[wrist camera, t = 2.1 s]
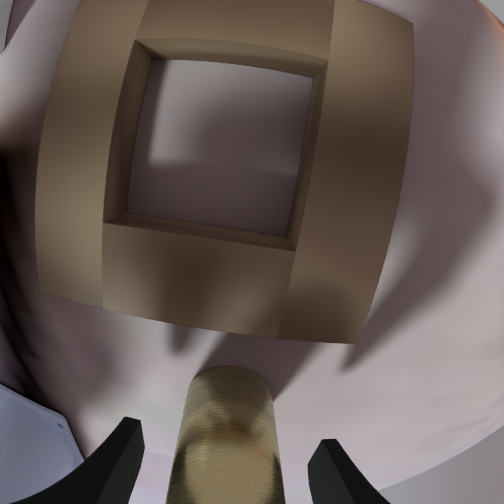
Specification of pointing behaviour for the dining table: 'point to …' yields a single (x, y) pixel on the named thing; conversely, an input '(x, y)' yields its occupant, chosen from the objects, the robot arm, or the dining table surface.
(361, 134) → the square tan frame
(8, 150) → the dining table surface
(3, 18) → the medicine bottle
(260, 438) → the brass peg
